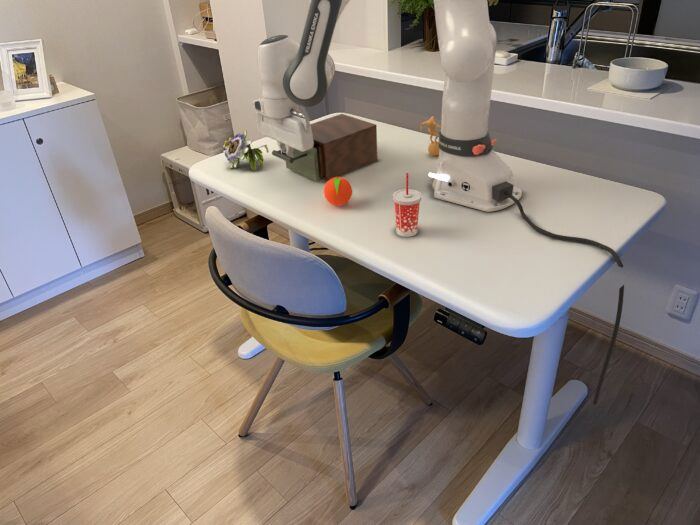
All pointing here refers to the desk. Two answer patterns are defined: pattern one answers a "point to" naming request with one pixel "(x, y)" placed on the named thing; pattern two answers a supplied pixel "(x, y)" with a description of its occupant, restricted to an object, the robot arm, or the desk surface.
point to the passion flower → (242, 151)
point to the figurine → (431, 125)
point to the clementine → (338, 191)
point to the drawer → (305, 161)
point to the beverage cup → (407, 210)
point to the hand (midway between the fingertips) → (287, 157)
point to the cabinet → (345, 144)
